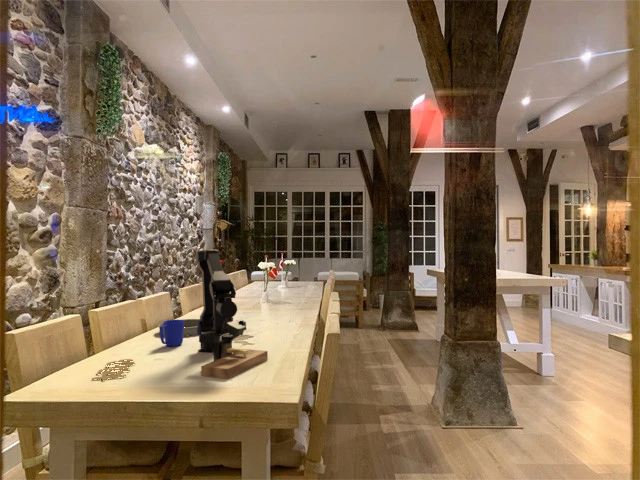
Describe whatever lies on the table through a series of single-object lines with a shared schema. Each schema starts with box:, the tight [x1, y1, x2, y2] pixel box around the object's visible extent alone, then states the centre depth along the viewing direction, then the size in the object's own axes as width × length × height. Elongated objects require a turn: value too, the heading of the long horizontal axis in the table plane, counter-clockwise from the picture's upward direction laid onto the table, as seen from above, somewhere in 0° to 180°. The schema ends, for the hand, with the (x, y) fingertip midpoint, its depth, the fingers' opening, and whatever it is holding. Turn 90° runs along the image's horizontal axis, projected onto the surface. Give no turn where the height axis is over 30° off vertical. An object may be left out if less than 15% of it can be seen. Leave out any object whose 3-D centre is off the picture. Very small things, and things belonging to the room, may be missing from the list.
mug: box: [158, 319, 184, 347], centre depth 190 cm, size 8×12×10 cm
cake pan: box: [157, 318, 200, 337], centre depth 221 cm, size 25×25×4 cm
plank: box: [200, 348, 269, 380], centre depth 156 cm, size 10×25×3 cm, turn 157°
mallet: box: [212, 342, 248, 361], centre depth 161 cm, size 13×4×6 cm, turn 61°
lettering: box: [91, 358, 136, 381], centre depth 155 cm, size 25×10×1 cm, turn 12°
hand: (222, 358), depth 163 cm, fingers closed on mallet, 4 cm apart
